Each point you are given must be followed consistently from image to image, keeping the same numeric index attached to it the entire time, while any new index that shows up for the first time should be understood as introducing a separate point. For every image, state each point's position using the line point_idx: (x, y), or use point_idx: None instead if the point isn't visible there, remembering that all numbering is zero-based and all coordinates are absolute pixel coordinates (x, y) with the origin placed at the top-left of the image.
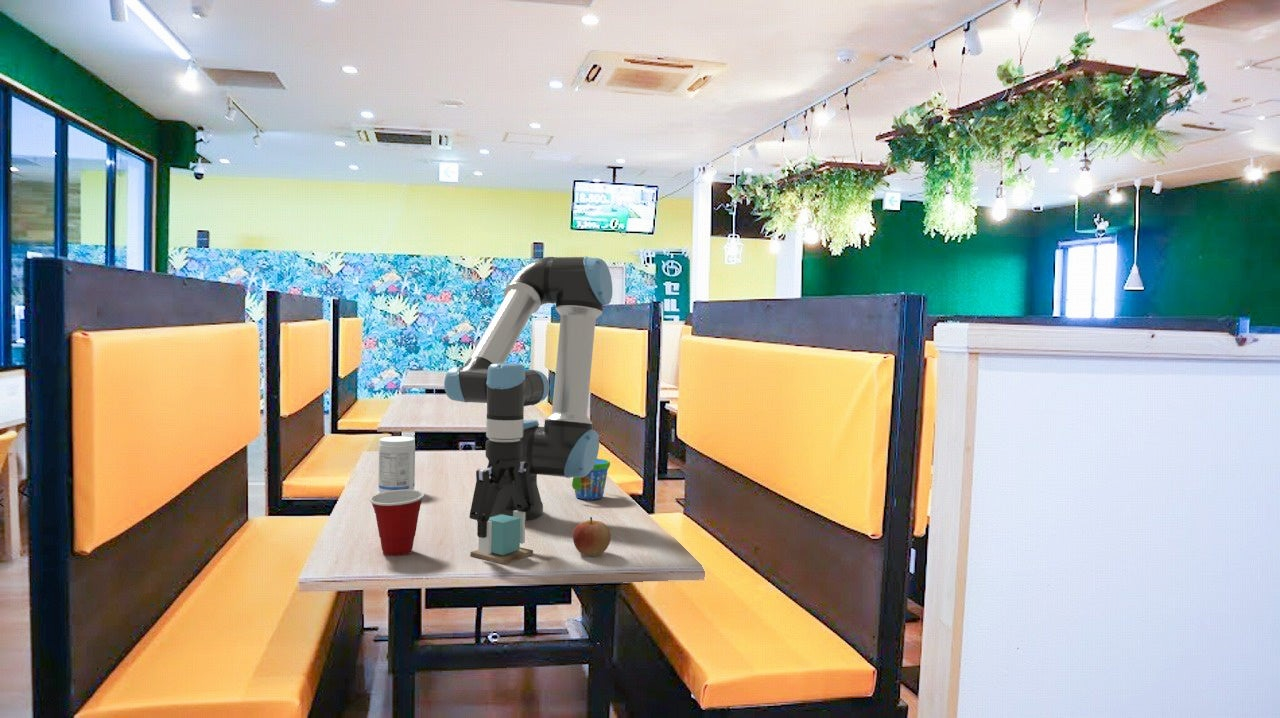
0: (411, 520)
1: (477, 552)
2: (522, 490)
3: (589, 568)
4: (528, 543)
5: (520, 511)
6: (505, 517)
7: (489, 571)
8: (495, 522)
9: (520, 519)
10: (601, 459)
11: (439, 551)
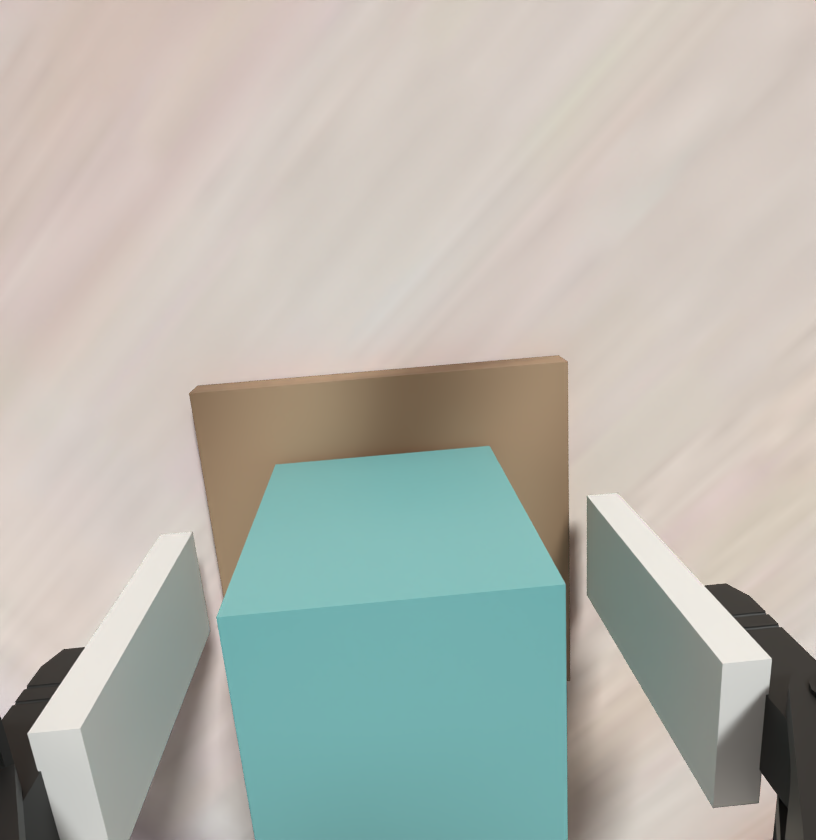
0: None
1: (226, 444)
2: None
3: None
4: (771, 444)
5: (753, 742)
6: (469, 734)
7: None
8: (246, 778)
9: (674, 709)
10: None
11: (72, 64)
